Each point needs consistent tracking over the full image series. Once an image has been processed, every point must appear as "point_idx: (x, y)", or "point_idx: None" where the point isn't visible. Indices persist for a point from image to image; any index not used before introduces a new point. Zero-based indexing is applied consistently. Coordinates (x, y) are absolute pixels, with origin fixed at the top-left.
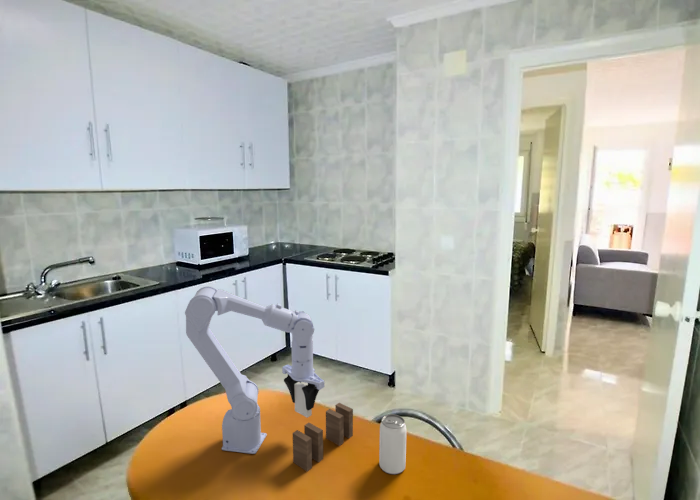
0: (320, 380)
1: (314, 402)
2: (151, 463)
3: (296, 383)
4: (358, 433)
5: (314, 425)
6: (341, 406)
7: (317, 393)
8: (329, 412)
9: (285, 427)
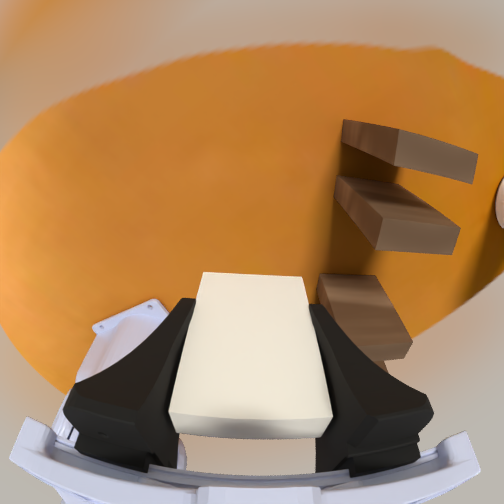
0: (448, 477)
1: (334, 322)
2: None
3: (181, 427)
4: (416, 112)
5: (374, 345)
6: (427, 160)
7: (373, 364)
8: (397, 246)
9: (163, 237)
